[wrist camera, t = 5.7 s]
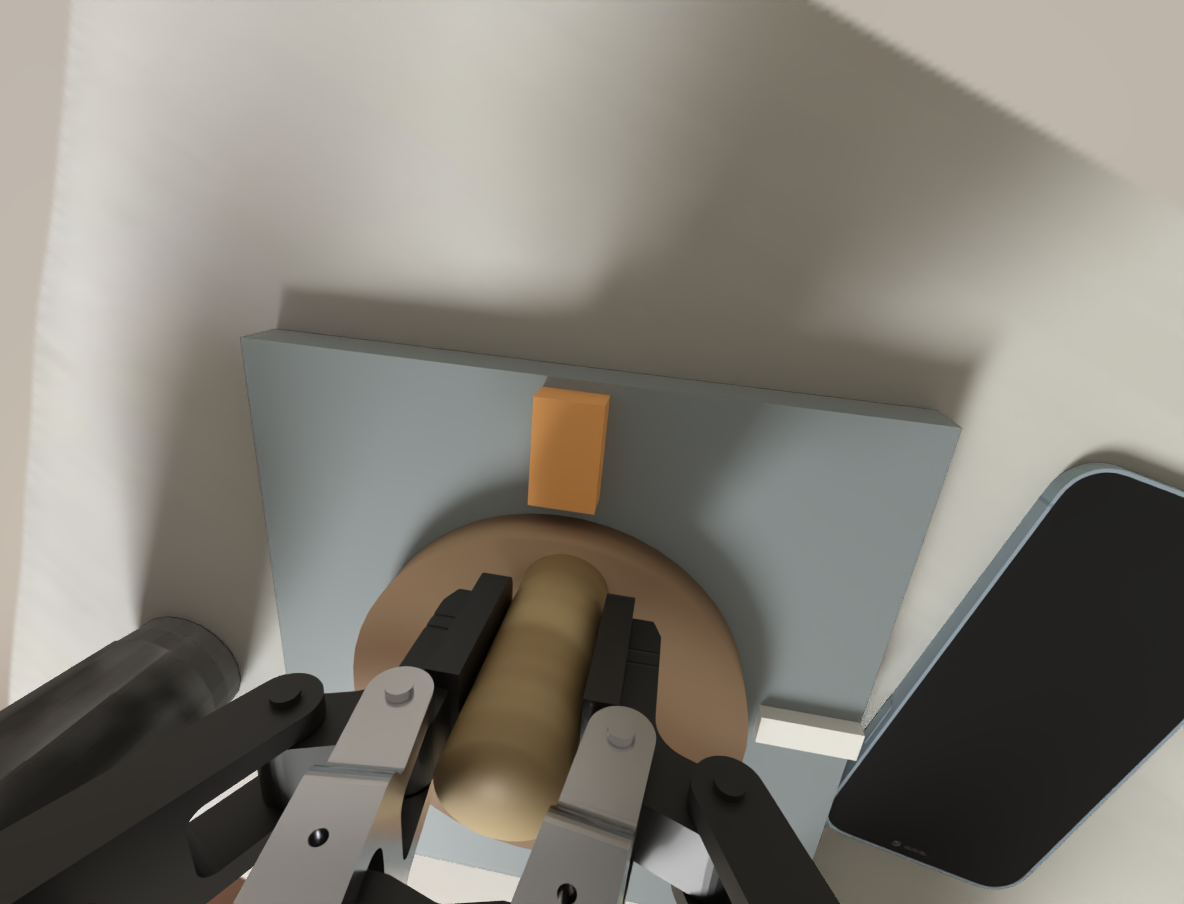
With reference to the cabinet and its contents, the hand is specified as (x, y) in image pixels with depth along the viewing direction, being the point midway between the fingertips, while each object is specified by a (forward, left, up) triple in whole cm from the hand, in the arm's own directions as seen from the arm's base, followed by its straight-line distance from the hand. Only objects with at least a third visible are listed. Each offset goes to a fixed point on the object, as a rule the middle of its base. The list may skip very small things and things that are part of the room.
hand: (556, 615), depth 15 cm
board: (0, +5, -4) cm, 6 cm away
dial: (0, +5, -3) cm, 5 cm away
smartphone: (-15, +3, -5) cm, 16 cm away
